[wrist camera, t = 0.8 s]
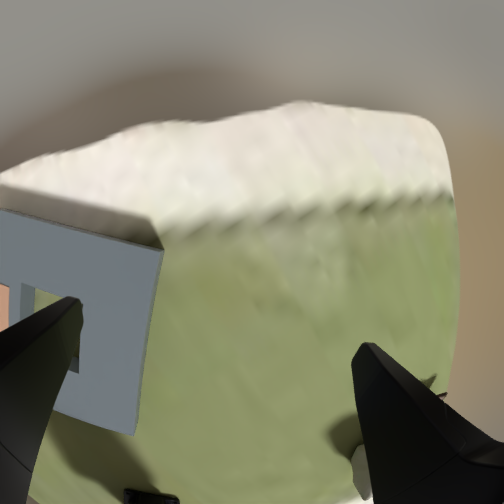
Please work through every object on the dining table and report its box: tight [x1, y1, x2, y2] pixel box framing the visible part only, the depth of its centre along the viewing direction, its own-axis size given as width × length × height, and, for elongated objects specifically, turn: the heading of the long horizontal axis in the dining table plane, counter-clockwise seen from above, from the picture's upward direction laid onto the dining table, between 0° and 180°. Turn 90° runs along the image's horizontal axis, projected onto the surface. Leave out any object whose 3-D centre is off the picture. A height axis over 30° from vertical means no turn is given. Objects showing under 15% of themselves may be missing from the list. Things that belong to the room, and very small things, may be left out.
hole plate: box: [0, 208, 164, 436], centre depth 19 cm, size 16×16×3 cm
